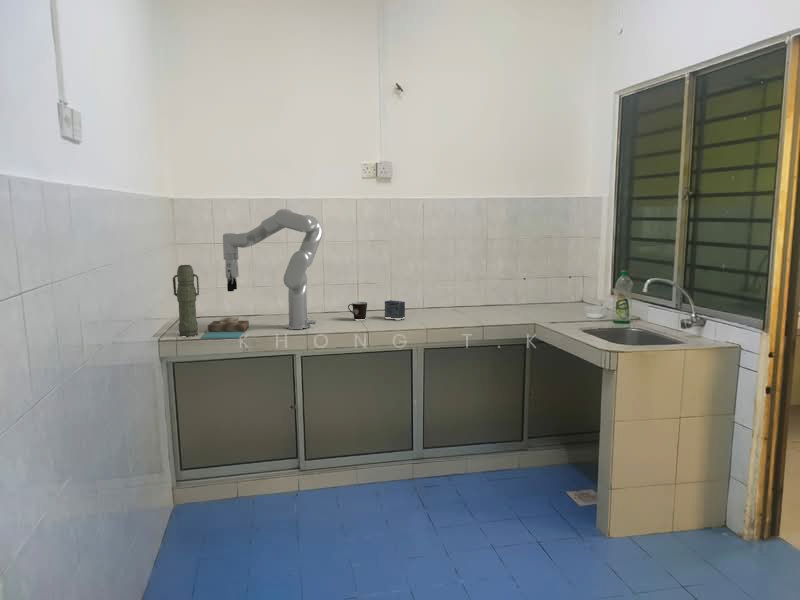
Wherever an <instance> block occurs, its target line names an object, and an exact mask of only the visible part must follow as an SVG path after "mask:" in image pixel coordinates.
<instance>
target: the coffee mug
mask: <svg viewBox="0 0 800 600" xmlns="http://www.w3.org/2000/svg"><path fill="white" fill-rule="evenodd" d="M350 306H351V307H352V310H351V308H350ZM347 309H348V311H349V312H350V313H351V314H353V320H354V319H365V318H366V317H367V309H368V302H367V301H353V302H352V303H350V304H348V306H347ZM365 320H366V319H365Z"/></svg>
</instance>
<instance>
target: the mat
mask: <svg viewBox="0 0 800 600" xmlns="http://www.w3.org/2000/svg"><path fill="white" fill-rule="evenodd" d="M244 333H245V332H208V331H207V333H205V334H204V335H202V336H201V338H200V339H203V340H205V339H206V340H207V339H240V338H241V337H242V336H243V335H242V334H244ZM241 335H242V336H241Z"/></svg>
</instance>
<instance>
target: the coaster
mask: <svg viewBox="0 0 800 600" xmlns="http://www.w3.org/2000/svg"><path fill="white" fill-rule="evenodd" d="M219 321H220V324H221V323H237V322H238V321H239V316H238V317H235V316H234V317H233V316H232V317H226V316H225V317H222V318H220V319H219Z"/></svg>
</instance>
